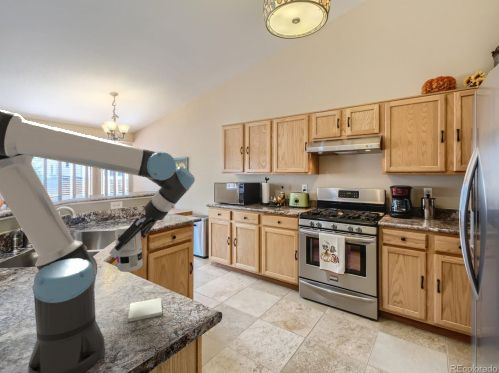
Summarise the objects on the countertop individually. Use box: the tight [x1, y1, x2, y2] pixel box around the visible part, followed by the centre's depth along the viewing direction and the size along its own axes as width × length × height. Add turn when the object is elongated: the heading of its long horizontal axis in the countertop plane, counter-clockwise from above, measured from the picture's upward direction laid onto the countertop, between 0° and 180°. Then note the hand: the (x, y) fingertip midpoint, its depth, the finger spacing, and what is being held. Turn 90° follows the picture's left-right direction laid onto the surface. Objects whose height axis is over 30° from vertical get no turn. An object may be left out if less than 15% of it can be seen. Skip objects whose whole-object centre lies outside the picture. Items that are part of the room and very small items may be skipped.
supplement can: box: [114, 224, 144, 273], centre depth 89 cm, size 8×8×15 cm
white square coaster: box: [127, 297, 163, 322], centre depth 83 cm, size 10×10×1 cm
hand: (120, 251), depth 90 cm, fingers closed on supplement can, 8 cm apart
